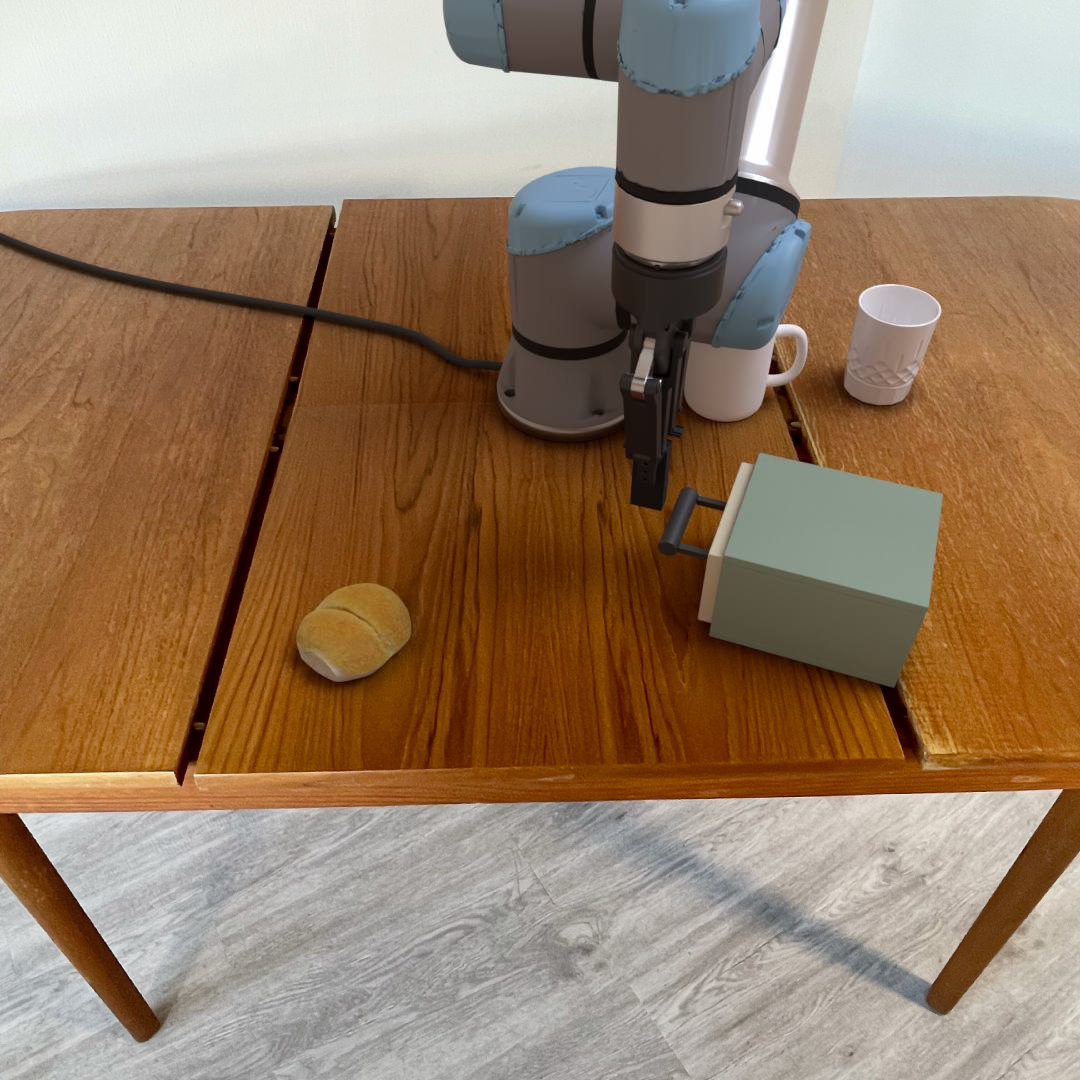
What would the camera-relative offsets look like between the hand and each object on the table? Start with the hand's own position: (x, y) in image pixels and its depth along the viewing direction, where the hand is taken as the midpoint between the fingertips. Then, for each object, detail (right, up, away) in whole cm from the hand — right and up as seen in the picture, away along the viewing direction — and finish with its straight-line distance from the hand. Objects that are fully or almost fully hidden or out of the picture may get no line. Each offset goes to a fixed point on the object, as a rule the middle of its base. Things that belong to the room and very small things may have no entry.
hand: (648, 501), depth 77 cm
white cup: (+27, +13, +22) cm, 37 cm away
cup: (+12, +12, +21) cm, 27 cm away
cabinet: (+14, -9, 0) cm, 16 cm away
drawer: (+10, -7, +1) cm, 12 cm away
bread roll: (-24, -12, -2) cm, 27 cm away
